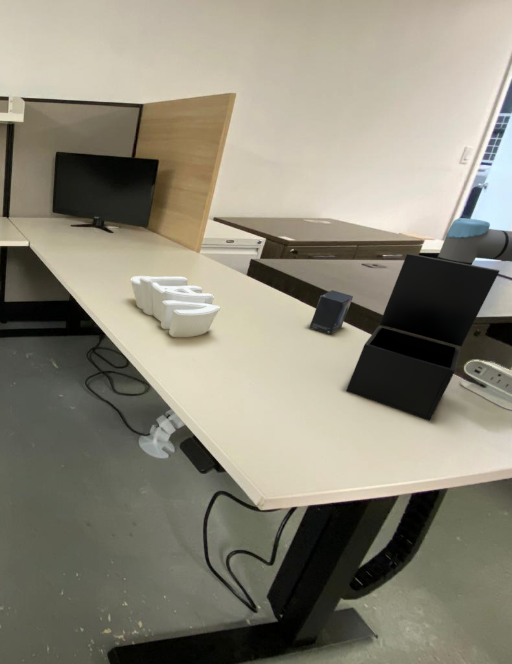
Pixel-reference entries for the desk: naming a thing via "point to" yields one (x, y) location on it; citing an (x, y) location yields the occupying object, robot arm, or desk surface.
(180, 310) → the white letter sign
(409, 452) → the desk surface
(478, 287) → the black box lid
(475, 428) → the desk surface
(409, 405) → the black box body
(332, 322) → the small box
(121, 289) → the desk surface
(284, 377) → the desk surface
